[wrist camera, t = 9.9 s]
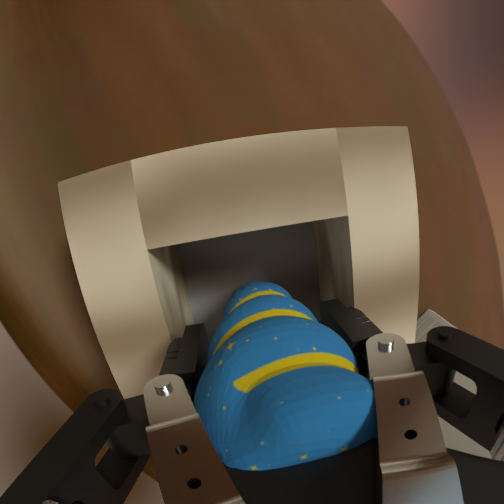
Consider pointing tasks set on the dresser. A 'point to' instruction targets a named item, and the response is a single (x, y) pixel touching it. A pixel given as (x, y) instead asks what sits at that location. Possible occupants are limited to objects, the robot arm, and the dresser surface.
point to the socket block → (243, 236)
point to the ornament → (280, 385)
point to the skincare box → (450, 433)
